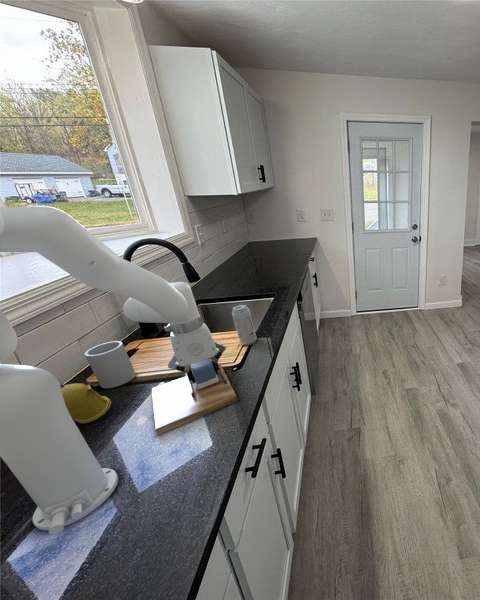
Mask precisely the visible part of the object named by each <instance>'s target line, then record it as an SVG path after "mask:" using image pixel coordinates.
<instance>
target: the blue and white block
mask: <svg viewBox="0 0 480 600" xmlns="http://www.w3.org/2000/svg"><path fill="white" fill-rule="evenodd" d="M211 361H212V360H211V359H210V358H208V359H205V360H203V361H200V362H197V363H194V364H191V365H190V366H191V368H190V369H191V370H192V373H193V376H194V379H195V382H196V386H197V388H198V389H201V388H203V387H206V386H209V385H211V384H214V383H216V382H219V380H218V377H217V375H216V373H215V371H214V368H213V365H212V362H211Z"/></svg>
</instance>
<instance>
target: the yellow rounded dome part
mask: <svg viewBox="0 0 480 600" xmlns="http://www.w3.org/2000/svg"><path fill="white" fill-rule="evenodd" d="M60 387H61V390H62V395H63V399H64V402H65V405H66V407H67V410H68V412H69V414H70V416H71V417H72V419H73V420H75V422H77V424H79V425H80V424H81V425H84V424H86V425H87V424H90V423H93V422H95V421H96V420H98V419H100V418H101V417H102V416H103V415H105V414H106V413H107V412H108V411H110V410H111V407H112V399H111V398H110V397H107V396H105V395H100V394H99V393H98V392H97V391H95V390H94V389H93V388H92V386H91V384H85V383H79V382H78V383H77V382H76V383H70V384H69V383H68V384H64V383H61V384H60Z"/></svg>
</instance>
